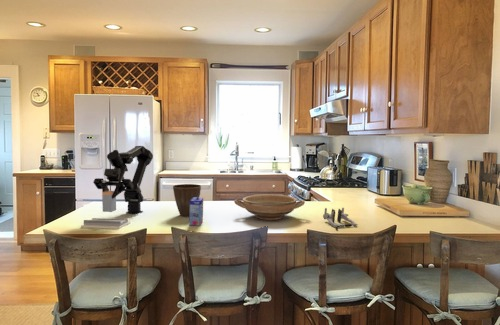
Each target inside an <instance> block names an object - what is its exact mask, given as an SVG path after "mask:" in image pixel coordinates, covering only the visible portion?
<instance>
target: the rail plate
mask: <svg viewBox="0 0 500 325" xmlns="http://www.w3.org/2000/svg"><path fill="white" fill-rule="evenodd" d="M130 224H131V221H129V220H128V218H126V219H125V218H99V217H98V218H97V217H93V218H91V219H84V220H83V224H82V225H80V228H85V229H86V228H88V229H89V228H90V229H109V230H110V229H112V230H115V229H116V230H118V229H119V230H120V229H123V227H125V226H128V225H130Z"/></svg>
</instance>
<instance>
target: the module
mask: <svg viewBox="0 0 500 325" xmlns="http://www.w3.org/2000/svg"><path fill="white" fill-rule="evenodd" d="M113 192H114V190H109V191H104V192H102V191H101V193H102V194H101V195H102V196H101V198H102V213H104V212H105V213H112V212H115V211H116V210H117V196H116V197H115V198H112V195H113Z"/></svg>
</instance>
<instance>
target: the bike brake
mask: <svg viewBox="0 0 500 325" xmlns="http://www.w3.org/2000/svg"><path fill="white" fill-rule="evenodd" d="M327 210H328V208H327V207H324V213H323V214H322V217H323V220H326V221H328V223H329V225H331V226H333V228H335V231H336V232H339V230H338V229H339V228H349V227H354V228H355V227H357V226H358V224H357V223H356V222H355V221H354V220H352V219H351V218H349V214H347V213H345V207H341V209H340V208H338V211H337V218H336V210H335V209H334V208H332V209H331V211H330V212H331V213H328V211H327ZM335 219H337V220H336V222H338V223H339V224H336V223H335ZM342 220H344V221H346V222H348V223H347V224H344V223H343V224H342V223H341V222H342ZM349 223H350V224H349Z"/></svg>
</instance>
